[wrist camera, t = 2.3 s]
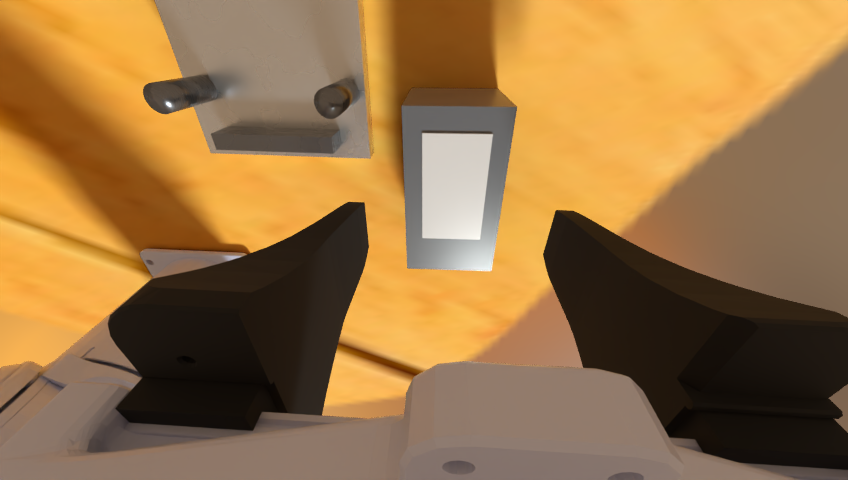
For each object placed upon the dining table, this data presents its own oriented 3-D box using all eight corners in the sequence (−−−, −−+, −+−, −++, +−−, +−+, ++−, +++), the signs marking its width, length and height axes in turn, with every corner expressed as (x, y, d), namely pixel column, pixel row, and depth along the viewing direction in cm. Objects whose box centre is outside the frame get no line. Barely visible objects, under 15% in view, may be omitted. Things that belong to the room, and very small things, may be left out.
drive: (481, 222, 20) (491, 272, 16) (414, 220, 20) (407, 269, 16) (497, 88, 16) (517, 107, 12) (412, 87, 16) (401, 106, 12)
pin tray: (373, 152, 18) (358, 179, 15) (221, 147, 18) (172, 173, 15) (346, -220, 11) (303, -336, 7) (94, -219, 11) (-57, -329, 8)
